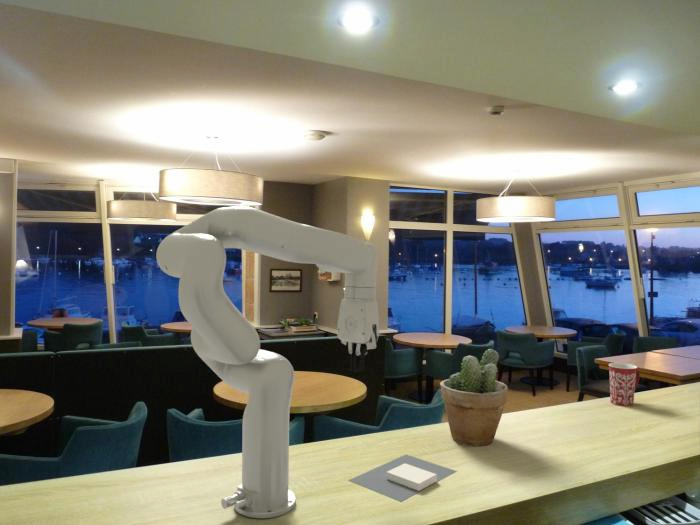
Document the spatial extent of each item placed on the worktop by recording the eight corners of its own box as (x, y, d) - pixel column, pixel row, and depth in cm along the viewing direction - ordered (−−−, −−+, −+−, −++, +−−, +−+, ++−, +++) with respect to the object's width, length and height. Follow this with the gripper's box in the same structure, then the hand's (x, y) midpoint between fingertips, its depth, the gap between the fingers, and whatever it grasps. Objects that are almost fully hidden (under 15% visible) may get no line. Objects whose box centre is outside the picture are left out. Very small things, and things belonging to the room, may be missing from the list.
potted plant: (496, 456, 141) (498, 360, 140) (428, 443, 150) (430, 352, 149) (513, 436, 157) (515, 349, 156) (451, 424, 166) (453, 343, 165)
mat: (401, 503, 114) (401, 501, 114) (348, 482, 124) (348, 480, 124) (456, 472, 130) (456, 471, 130) (405, 455, 140) (405, 454, 140)
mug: (623, 408, 186) (624, 369, 186) (601, 401, 195) (602, 363, 194) (649, 404, 191) (650, 366, 191) (627, 397, 200) (628, 361, 199)
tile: (386, 479, 125) (418, 491, 119) (386, 471, 125) (418, 483, 119) (404, 470, 130) (436, 481, 124) (404, 463, 130) (436, 474, 124)
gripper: (327, 292, 133) (324, 367, 133) (372, 297, 122) (369, 378, 122) (349, 291, 138) (346, 364, 138) (394, 296, 127) (391, 374, 128)
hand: (357, 370), depth 130 cm, fingers closed
